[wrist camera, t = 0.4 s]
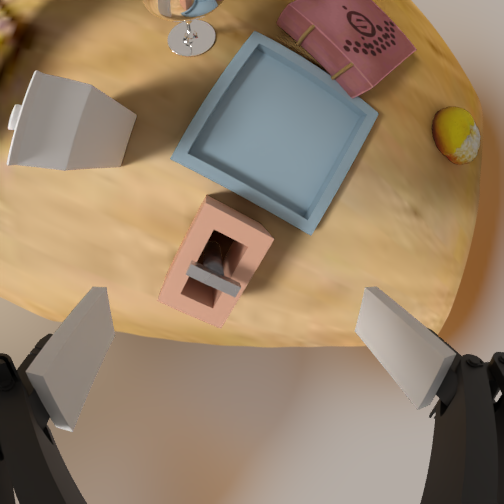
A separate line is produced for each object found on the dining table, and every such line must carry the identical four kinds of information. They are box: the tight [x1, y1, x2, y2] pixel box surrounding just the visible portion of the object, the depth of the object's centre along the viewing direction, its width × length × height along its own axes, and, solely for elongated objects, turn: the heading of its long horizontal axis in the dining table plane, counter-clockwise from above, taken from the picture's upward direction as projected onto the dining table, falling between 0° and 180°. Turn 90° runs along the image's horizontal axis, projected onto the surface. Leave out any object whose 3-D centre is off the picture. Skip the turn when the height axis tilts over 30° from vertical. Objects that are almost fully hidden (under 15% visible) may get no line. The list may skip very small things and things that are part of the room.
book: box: [277, 0, 417, 98], centre depth 26 cm, size 14×15×5 cm
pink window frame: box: [157, 195, 274, 328], centre depth 33 cm, size 14×8×8 cm, turn 150°
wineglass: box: [143, 0, 224, 57], centre depth 19 cm, size 8×8×18 cm
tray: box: [170, 31, 379, 235], centre depth 32 cm, size 20×20×2 cm
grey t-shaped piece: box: [186, 241, 241, 297], centre depth 31 cm, size 5×2×11 cm, turn 60°
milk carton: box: [7, 70, 137, 171], centre depth 21 cm, size 7×7×19 cm
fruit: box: [432, 107, 480, 165], centre depth 34 cm, size 11×10×8 cm
